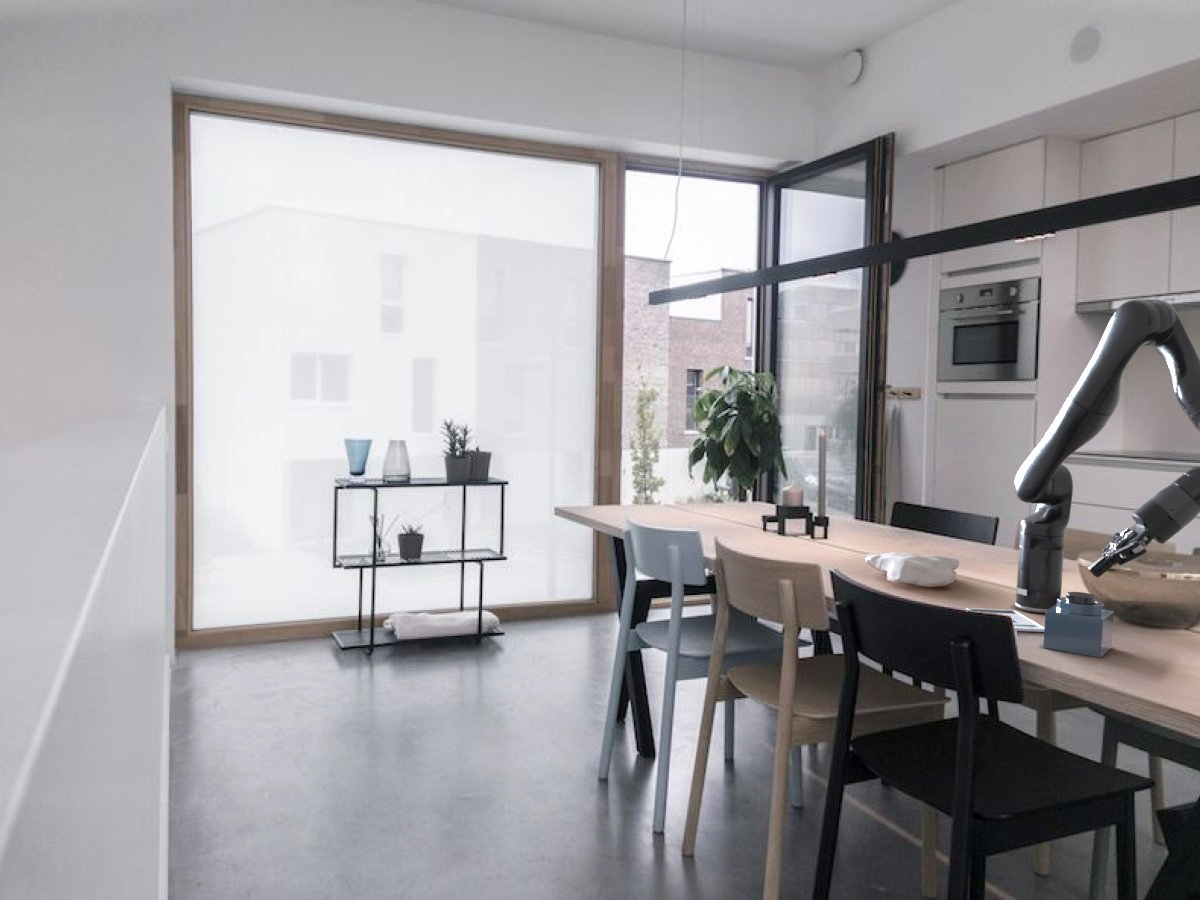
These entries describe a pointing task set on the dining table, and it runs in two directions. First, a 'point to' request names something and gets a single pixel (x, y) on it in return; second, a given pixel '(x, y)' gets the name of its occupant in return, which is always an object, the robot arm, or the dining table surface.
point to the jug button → (1080, 598)
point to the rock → (915, 568)
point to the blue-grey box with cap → (1078, 628)
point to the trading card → (1015, 619)
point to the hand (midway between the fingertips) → (1092, 573)
